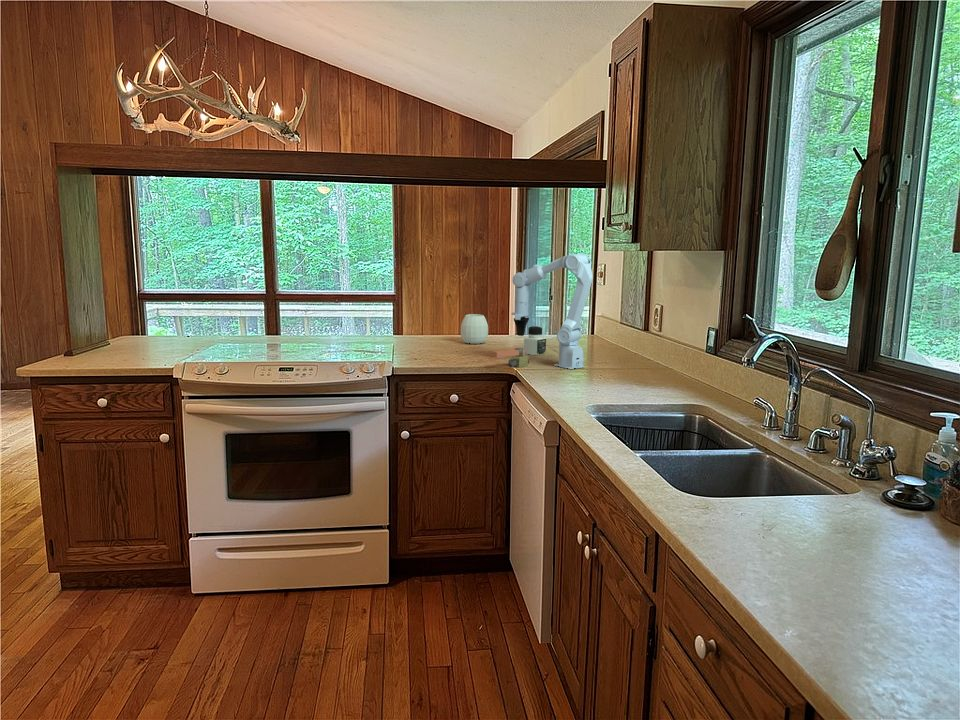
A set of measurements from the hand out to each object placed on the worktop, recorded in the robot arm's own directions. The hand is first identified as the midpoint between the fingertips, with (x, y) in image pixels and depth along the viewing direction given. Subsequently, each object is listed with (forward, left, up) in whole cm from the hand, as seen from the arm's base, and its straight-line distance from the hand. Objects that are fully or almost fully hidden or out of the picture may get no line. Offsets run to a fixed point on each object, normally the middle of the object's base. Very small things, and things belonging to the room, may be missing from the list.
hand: (520, 335), depth 278 cm
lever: (-9, +13, -6) cm, 17 cm away
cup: (+49, -11, -11) cm, 51 cm away
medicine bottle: (+10, -16, -11) cm, 22 cm away
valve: (-9, +8, -10) cm, 16 cm away
